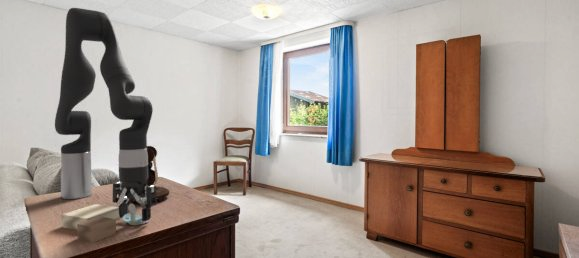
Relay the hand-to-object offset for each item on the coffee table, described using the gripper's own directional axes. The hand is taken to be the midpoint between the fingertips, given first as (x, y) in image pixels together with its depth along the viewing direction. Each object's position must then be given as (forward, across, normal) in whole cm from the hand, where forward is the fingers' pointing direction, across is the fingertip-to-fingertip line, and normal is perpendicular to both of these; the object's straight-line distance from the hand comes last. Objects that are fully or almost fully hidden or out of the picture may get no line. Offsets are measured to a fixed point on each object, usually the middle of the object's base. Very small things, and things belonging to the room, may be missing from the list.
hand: (134, 218), depth 83 cm
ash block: (+2, -12, -4) cm, 13 cm away
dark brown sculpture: (+2, -15, +20) cm, 25 cm away
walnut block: (+2, -2, -10) cm, 10 cm away
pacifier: (+2, 0, +1) cm, 2 cm away
